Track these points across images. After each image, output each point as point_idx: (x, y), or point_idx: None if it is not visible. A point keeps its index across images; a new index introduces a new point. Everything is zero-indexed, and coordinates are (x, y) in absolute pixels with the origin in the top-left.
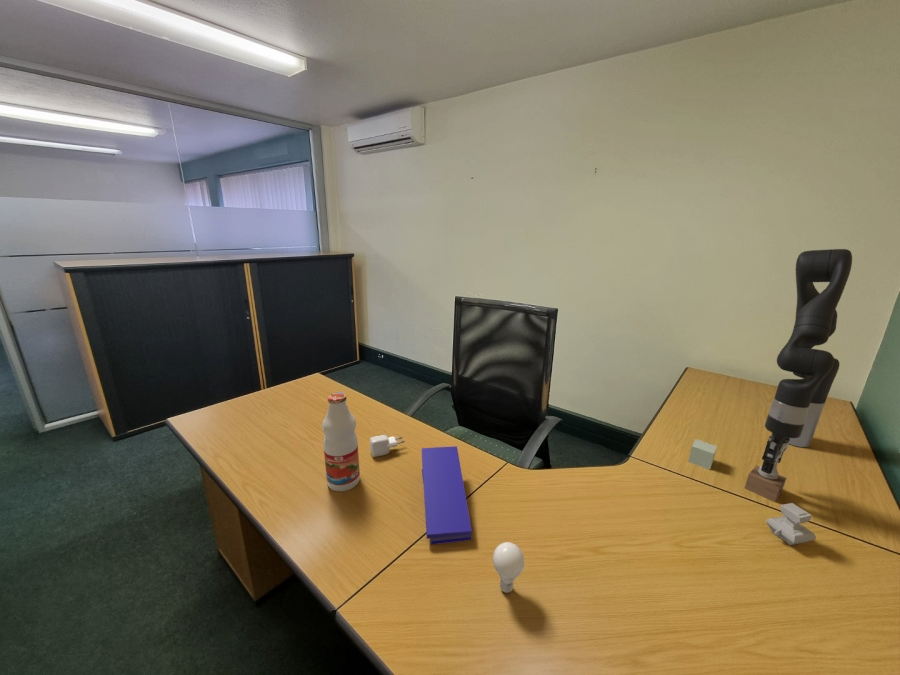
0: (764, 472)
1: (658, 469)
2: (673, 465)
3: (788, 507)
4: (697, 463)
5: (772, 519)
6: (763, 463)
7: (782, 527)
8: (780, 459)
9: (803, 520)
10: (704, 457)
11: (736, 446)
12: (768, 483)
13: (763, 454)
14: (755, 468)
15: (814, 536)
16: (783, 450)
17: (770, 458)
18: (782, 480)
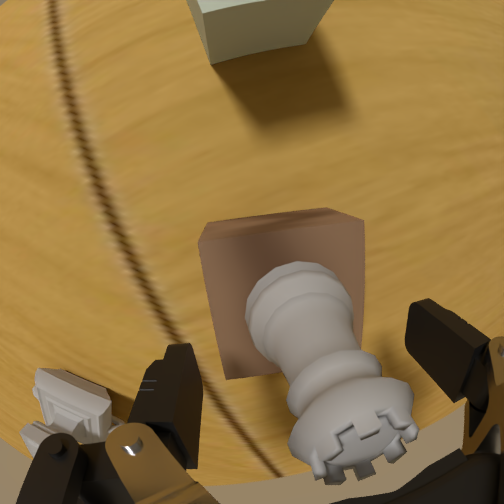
0: (250, 321)
1: (37, 22)
2: (100, 5)
3: (33, 448)
4: (194, 19)
5: (36, 388)
6: (154, 390)
7: (41, 407)
8: (421, 364)
9: None
10: (195, 9)
11: (485, 95)
12: (216, 337)
13: (24, 480)
14: (315, 234)
15: None
16: (466, 416)
17: (83, 500)
18: None
